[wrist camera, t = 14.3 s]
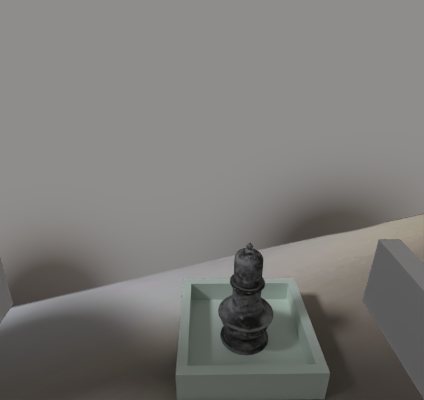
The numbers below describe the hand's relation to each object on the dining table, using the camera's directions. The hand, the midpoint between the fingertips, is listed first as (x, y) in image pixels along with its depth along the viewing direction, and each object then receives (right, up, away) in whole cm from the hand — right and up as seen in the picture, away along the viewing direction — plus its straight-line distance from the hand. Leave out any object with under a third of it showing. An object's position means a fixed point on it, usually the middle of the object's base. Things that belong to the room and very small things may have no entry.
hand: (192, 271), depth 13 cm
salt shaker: (+4, -13, +27) cm, 30 cm away
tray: (+4, -13, +27) cm, 31 cm away
